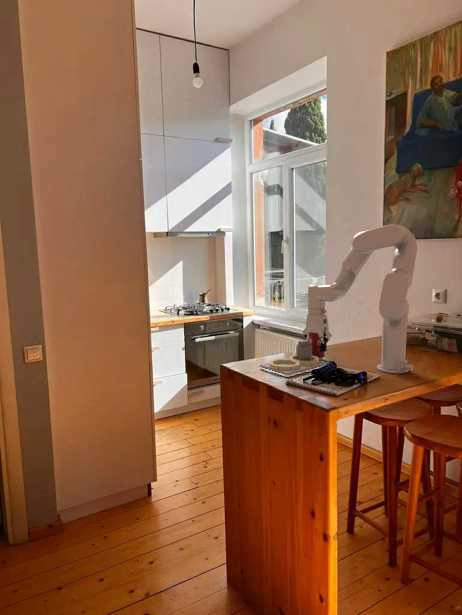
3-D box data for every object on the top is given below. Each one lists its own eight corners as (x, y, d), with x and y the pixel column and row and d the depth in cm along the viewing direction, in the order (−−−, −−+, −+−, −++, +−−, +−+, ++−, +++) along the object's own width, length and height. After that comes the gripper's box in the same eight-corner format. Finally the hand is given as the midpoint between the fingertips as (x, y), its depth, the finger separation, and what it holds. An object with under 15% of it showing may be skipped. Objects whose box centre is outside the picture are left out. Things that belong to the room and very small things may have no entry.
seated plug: (314, 361, 198) (315, 341, 197) (304, 364, 194) (304, 343, 192) (303, 358, 203) (303, 338, 202) (293, 361, 199) (293, 340, 198)
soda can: (306, 358, 207) (306, 332, 206) (311, 355, 213) (311, 329, 212) (322, 359, 204) (322, 333, 202) (326, 356, 210) (326, 330, 209)
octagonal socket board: (328, 367, 197) (328, 359, 196) (287, 377, 181) (287, 369, 180) (300, 359, 209) (300, 352, 208) (259, 369, 193) (260, 361, 193)
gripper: (337, 312, 202) (337, 351, 204) (307, 309, 215) (307, 346, 217) (326, 314, 197) (326, 354, 199) (296, 311, 210) (296, 348, 213)
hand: (316, 350), depth 208 cm, fingers closed on soda can, 7 cm apart
